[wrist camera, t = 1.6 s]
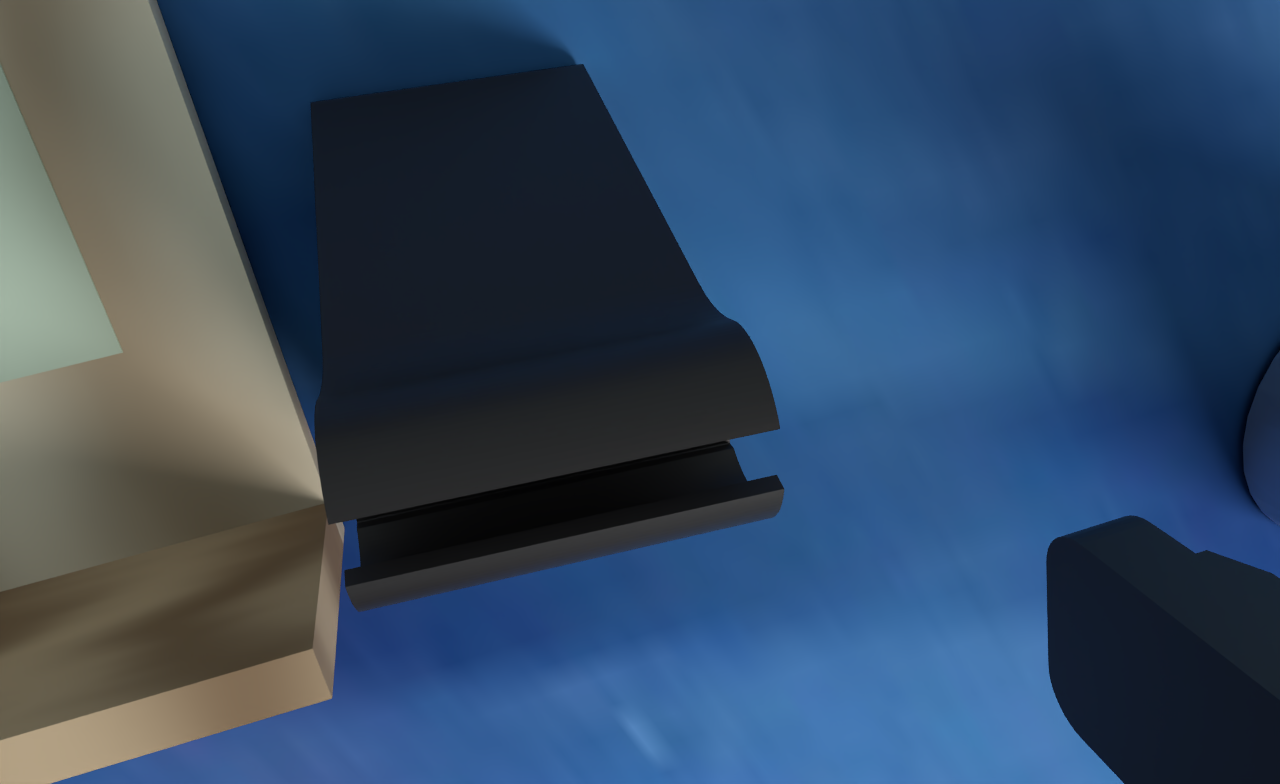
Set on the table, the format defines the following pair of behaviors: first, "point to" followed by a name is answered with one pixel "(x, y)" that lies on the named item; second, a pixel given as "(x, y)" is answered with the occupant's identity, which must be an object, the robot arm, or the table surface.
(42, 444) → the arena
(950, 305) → the table surface
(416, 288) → the phone stand
